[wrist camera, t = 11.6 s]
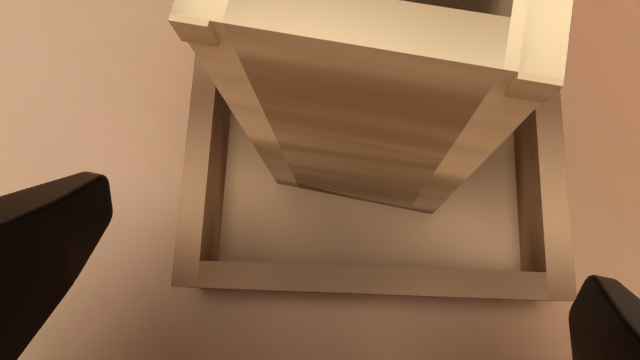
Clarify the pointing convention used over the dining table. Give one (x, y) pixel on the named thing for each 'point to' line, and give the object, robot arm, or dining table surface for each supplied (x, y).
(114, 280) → the dining table surface
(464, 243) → the crate
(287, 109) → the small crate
